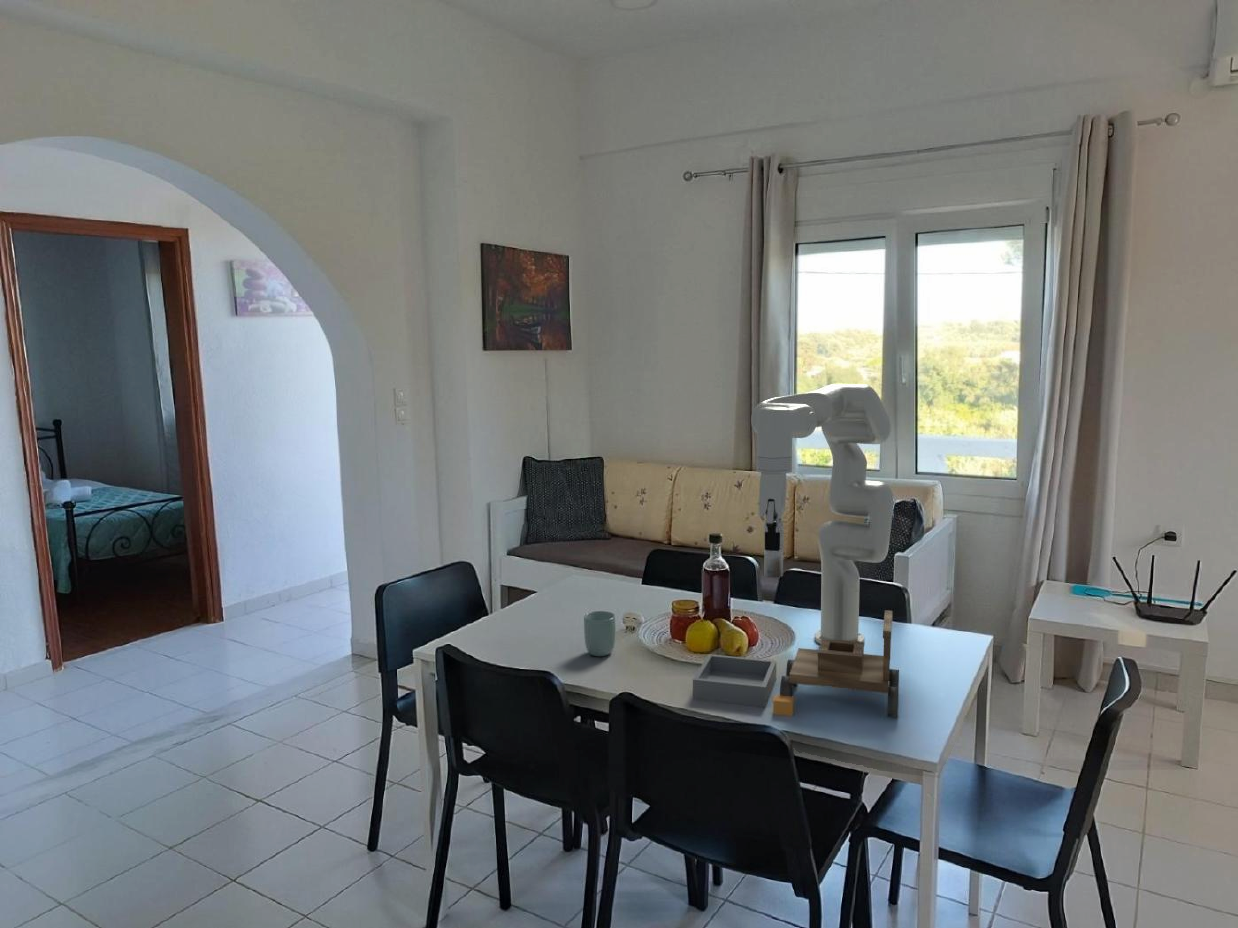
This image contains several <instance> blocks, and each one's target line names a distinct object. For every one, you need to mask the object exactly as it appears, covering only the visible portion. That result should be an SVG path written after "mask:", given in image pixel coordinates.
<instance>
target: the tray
mask: <svg viewBox="0 0 1238 928" xmlns="http://www.w3.org/2000/svg"><path fill="white" fill-rule="evenodd" d="M776 681H777V660H772V659H765V658H763V659H761V658H753V657H752V658H751V657H742V656H732V655H731V656H730V655H723V654H722V655H721V654H712V653H711V654H709V653H708V654H707V656H706V658H705V659H704V661H703V662H702V664H701V666H700V668H699V669H698V670H697V672H696V673H695V675H694V677H693V678H692V699H693V700H698V701H707V702H715V703H716V702H718V703H725V704H733V705H734V704H736V705H743V706H744V705H745V706H751V707H762V708H767V705H768V702H769V700H770V697H771V694H772V692H773V689H774V687H775V684H776Z"/></svg>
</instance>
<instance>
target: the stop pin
mask: <svg viewBox="0 0 1238 928" xmlns="http://www.w3.org/2000/svg"><path fill="white" fill-rule="evenodd" d="M774 522H775V523H776V521H774ZM765 524H766V519H765V520H764V525H765ZM779 532H780V550H779V551H769V550H765V532H764V534H763V535H764V537H763V538H764V545H763V547H764V548H763V549H764V550H763V551H764V554H763V555H764V556H763V557H764V558H763V559H764V561H763V563H764V565H763V566H764V567H763V568H764V570H763V571H764V572H763V574H764V576H765V577H767V578H774V579H775V578H781V577H783V576H784V521H783V519H782V520H779Z"/></svg>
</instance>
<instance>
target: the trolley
mask: <svg viewBox="0 0 1238 928" xmlns="http://www.w3.org/2000/svg"><path fill="white" fill-rule="evenodd" d="M892 629H893V610H884V616H883V627H882V639H883V655H878V654H877V655H876V654H868V653H864V652H865V651H864V649H865V641H864V642H856V641H845V640H833V639H822V640H821V643H820V644H819V648H818V649H810V648H800V647H799V648H798V649H797V651H796V654H795V657H794V659H787V662H786V668H785V669H786V672H785V675H782V676H781V679H780V687H779V695H781V696H790V697H793V695H794V694H793V692H794V688H797V686H798V685H807V686H816V687H825V688H827V687H828V688H835V689H844V690H845V689H846V690H854V691H865V692H873V693H874V692H875V693H886V694H887V717H893V718H894V717H895V718H898V717H899V713H898V712H899V688H900V687H899V684H900V683H899V682H900V670H899V669H892V668H890V667H891V664H890V663H891V645H892V644H891V642H892Z"/></svg>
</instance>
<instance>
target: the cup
mask: <svg viewBox="0 0 1238 928" xmlns="http://www.w3.org/2000/svg"><path fill="white" fill-rule="evenodd" d="M616 627H617V624H616V615H615V613H613V612H612V611H605V610H596V611H591V612H590V611H589V612H588V613H586V614H585V615H584V617H583V634H584V643H585V648H586V650H587V652H588V653H589V654H590V655H591V656H595V657H606V656H608V655H610V654H611V653H612V652H613V651H614V649H615V644H616V636H617V634H616V633H617V632H616V630H617V629H616Z"/></svg>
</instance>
